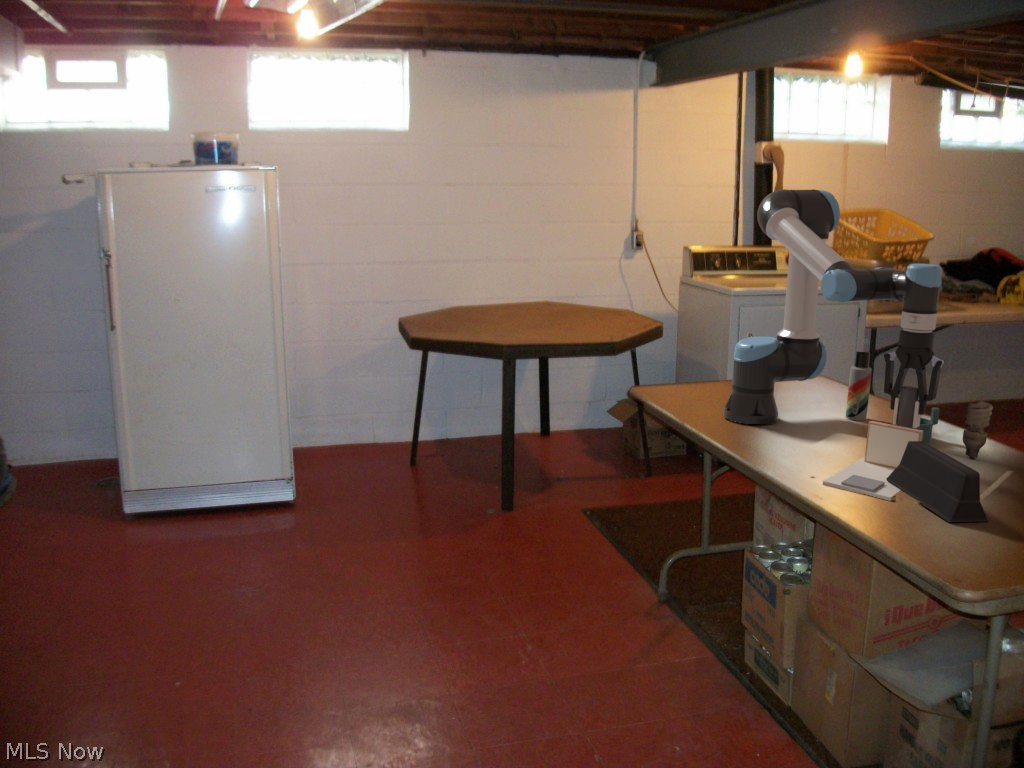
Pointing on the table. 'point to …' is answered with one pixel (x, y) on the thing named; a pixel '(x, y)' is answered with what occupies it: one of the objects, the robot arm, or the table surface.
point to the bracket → (928, 425)
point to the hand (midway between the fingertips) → (905, 424)
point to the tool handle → (907, 406)
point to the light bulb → (976, 427)
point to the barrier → (939, 483)
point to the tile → (888, 443)
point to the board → (865, 480)
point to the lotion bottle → (859, 387)
